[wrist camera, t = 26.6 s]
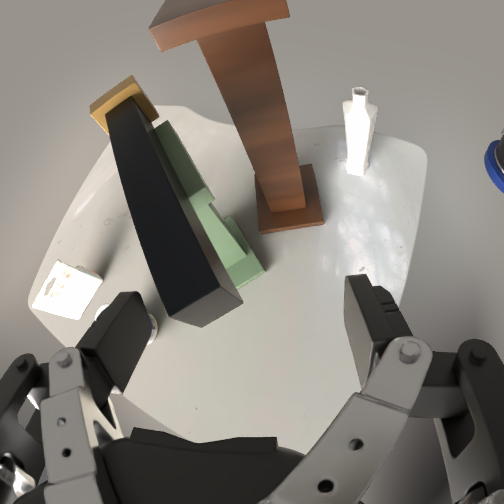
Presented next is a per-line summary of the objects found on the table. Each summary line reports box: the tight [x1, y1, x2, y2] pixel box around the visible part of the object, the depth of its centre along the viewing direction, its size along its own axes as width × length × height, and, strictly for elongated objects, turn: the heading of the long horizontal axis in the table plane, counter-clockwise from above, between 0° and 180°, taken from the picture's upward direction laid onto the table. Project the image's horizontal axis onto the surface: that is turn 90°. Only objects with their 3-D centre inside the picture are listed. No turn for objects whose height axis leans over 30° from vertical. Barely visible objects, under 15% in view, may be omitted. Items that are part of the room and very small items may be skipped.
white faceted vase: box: [342, 86, 378, 176], centre depth 35 cm, size 5×4×15 cm
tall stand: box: [148, 0, 324, 234], centre depth 28 cm, size 12×9×32 cm
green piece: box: [154, 120, 265, 289], centre depth 32 cm, size 10×6×21 cm, turn 29°
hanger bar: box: [90, 75, 243, 328], centre depth 19 cm, size 22×5×5 cm, turn 29°
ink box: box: [32, 260, 103, 320], centre depth 41 cm, size 3×9×12 cm, turn 143°
